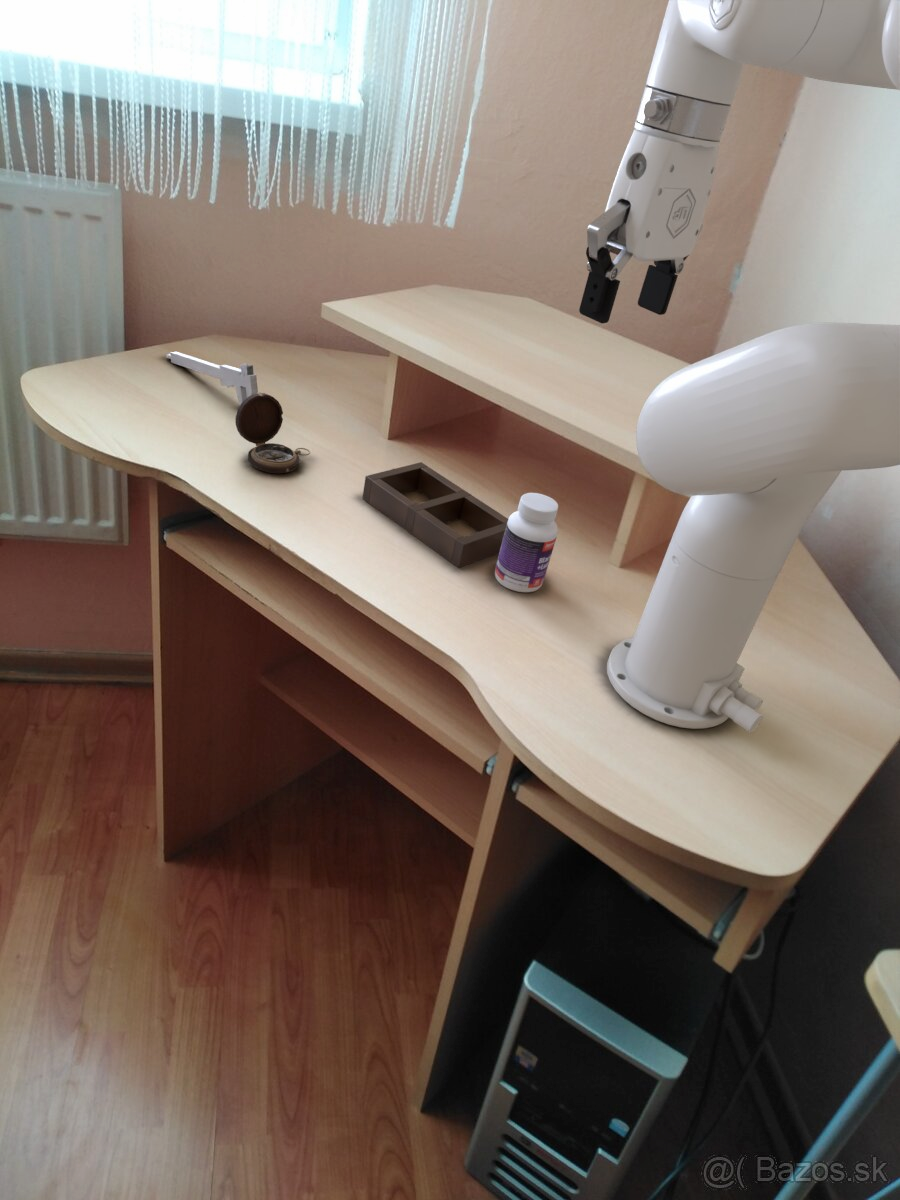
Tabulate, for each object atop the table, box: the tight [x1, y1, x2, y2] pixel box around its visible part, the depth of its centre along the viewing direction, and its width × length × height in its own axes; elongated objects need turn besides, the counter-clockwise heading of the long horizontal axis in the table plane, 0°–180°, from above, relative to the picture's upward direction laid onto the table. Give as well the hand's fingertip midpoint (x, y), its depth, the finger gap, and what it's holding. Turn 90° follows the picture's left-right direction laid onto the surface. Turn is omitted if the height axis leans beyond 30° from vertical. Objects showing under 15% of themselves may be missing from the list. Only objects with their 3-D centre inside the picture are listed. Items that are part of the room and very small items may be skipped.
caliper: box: [165, 351, 259, 406], centre depth 121 cm, size 20×1×6 cm, turn 47°
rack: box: [362, 461, 509, 569], centre depth 103 cm, size 17×9×3 cm, turn 44°
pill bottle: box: [494, 492, 559, 593], centre depth 94 cm, size 5×5×10 cm
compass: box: [235, 391, 311, 474], centre depth 107 cm, size 8×8×7 cm
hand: (622, 314), depth 87 cm, fingers open, 9 cm apart
